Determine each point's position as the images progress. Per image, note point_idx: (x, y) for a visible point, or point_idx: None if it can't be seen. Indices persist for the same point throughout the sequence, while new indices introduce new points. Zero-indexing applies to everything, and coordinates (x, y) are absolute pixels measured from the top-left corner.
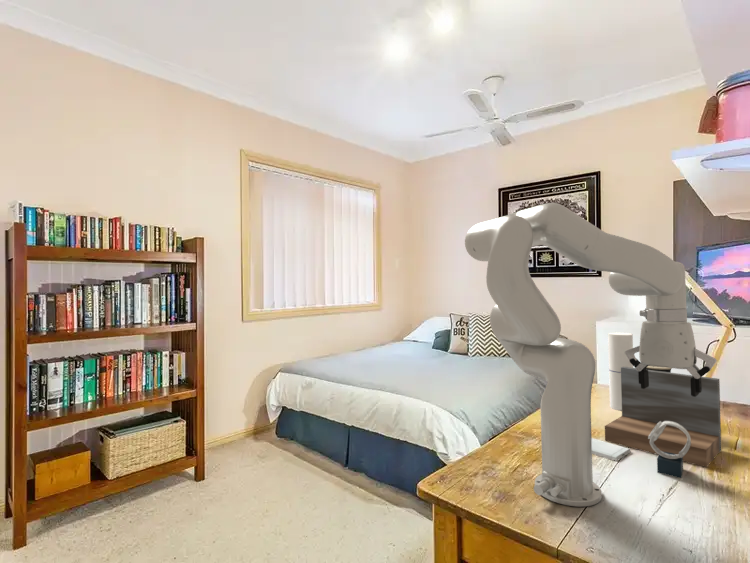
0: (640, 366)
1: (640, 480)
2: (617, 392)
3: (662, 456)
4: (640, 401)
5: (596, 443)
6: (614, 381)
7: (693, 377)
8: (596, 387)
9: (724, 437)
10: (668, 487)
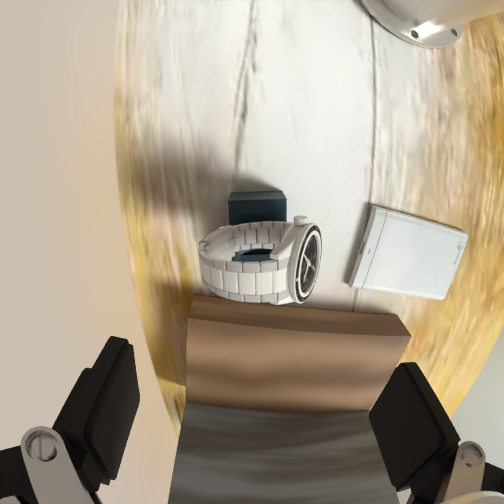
0: (470, 473)
1: (309, 115)
2: None
3: (275, 220)
4: (342, 446)
5: (418, 268)
6: None
7: (79, 449)
8: None
9: None
10: (248, 115)
